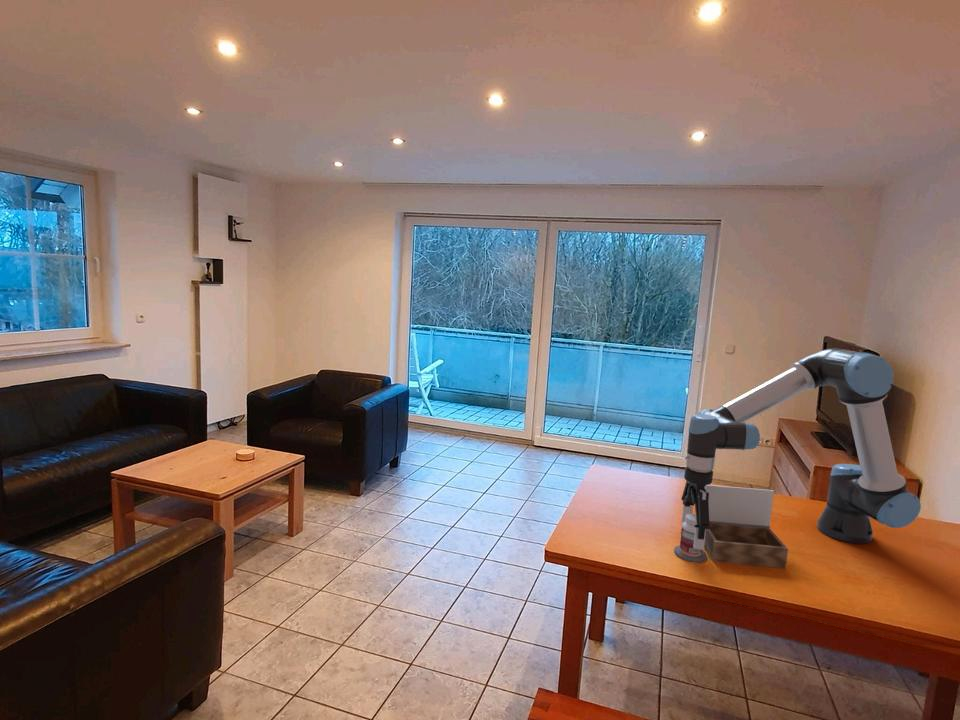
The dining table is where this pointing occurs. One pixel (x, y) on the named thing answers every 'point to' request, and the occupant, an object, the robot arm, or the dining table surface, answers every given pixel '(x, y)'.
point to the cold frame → (745, 546)
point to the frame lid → (740, 506)
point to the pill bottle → (689, 537)
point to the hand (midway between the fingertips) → (691, 537)
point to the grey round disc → (689, 558)
